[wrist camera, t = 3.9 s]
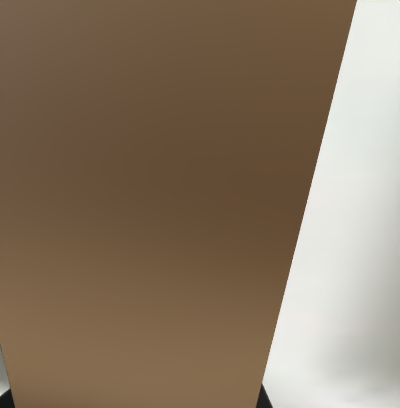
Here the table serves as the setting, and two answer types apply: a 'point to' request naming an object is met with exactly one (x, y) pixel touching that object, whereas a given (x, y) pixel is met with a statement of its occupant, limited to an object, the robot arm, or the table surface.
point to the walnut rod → (155, 191)
